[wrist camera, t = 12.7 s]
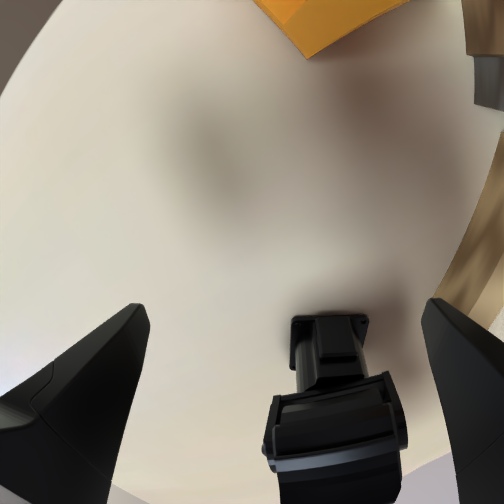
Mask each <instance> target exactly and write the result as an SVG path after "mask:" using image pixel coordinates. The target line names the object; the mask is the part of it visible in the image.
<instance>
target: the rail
mask: <svg viewBox="0 0 504 504" xmlns="http://www.w3.org/2000/svg"><path fill="white" fill-rule="evenodd" d="M438 297H439V298H442V299H443V300H445V301H446V302H448V303H449V304H451V305H452V306H454V307H455V308H456V309H458V310H459V311H461V312H462V313H464V314H465V315H466V316H468V317H469V318H471V319H472V320H474V321H475V322H476V323H478V324H479V325H481V326H482V327H483V328H485V329H486V330H488V329H489V327H490V326H491V324H492V323H493V321H494V320H495V318H496V317H497V315H498V314H499V312H500V311H501V309H502V308H503V306H504V132H501V135H500V139H499V142H498V146H497V149H496V152H495V156H494V159H493V162H492V165H491V168H490V171H489V174H488V177H487V180H486V183H485V186H484V188H483V191H482V194H481V196H480V199H479V202H478V204H477V207H476V209H475V212H474V214H473V217H472V219H471V221H470V224H469V226H468V228H467V231H466V233H465V235H464V237H463V239H462V242H461V244H460V246H459V248H458V250H457V252H456V254H455V256H454V258H453V260H452V262H451V264H450V266H449V268H448V270H447V272H446V274H445V276H444V278H443V280H442V282H441V284H440V285H439V287H438V289H437V291H436V293H435V294H434V296H433V298H438Z"/></svg>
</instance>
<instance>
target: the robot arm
mask: <svg viewBox="0 0 504 504" xmlns="http://www.w3.org/2000/svg"><path fill="white" fill-rule="evenodd" d="M362 320H364V321H362ZM295 323H299V324H295ZM368 324H369V318H368V316H367V315H364V314H362V315H342V316H317V317H295V318H293V319H292V320H291V336H290V361H289V368H290V369H291V370H294V371H296V380H297V393H294V394H288V395H282V396H281V395H275V396H273V401H272V404H271V406H270V411H269V416H268V420H267V425H266V430H265V435H264V439H263V445H262V453H263V454H264V455H265V456H266V457H267V461H268V464H269V467H270V469H271V471H272V472H273V473H277V477H278V482H279V490H280V504H393V503H395V501H396V499H397V497H398V494H399V492H400V490H401V481H402V470H401V460H400V450H403V449H407V447H408V433H407V426H406V420H405V415H404V411H403V408H402V404H401V402H400V399H399V396H398V394H397V391H396V388H395V386H394V383H393V380H392V378H391V375H390V373H389V371H385V372H382V374H379V375H375V376H371V377H369V375H368V370H367V366H366V362H365V358H364V354H363V350H362V348H363V344H364V340H365V336H366V332H367V328H368ZM421 325H422V329H423V334H424V338H425V343H426V348H427V353H428V358H429V362H430V366H431V370H432V373H433V377H434V380H435V383H436V387H437V391H438V394H439V398H440V402H441V406H442V410H443V414H444V418H445V422H446V426H447V431H448V435H449V440H450V445H451V450H452V455H453V461H454V466H455V472H456V480H457V487H458V494H459V502H460V504H504V342H502V341H501V340H500V339H498V338H497V337H496V336H494V335H493V334H492V333H490V332H489V331H487V330H486V329H485V328H483V327H482V326H481V325H479V324H478V323H476V322H475V321H474V320H472V319H471V318H469V317H468V316H466V315H465V314H464V313H462V312H461V311H459V310H458V309H456V308H455V307H454V306H452V305H451V304H449V303H448V302H446V301H445V300H443V299H442V298H439V297H438V298H430V299H429V300H428V301H427V303H426V306H425V309H424V312H423V315H422V319H421ZM149 333H150V322H149V319H148V316H147V313H146V310H145V307H144V305H143V304H140V303H131V304H129V305H127V306H126V307H125V308H123V309H122V310H121V311H119V312H118V313H116V314H115V315H114V316H112V317H111V318H110V319H108V320H107V321H105V322H104V323H103V324H101V325H100V326H99V327H97V328H96V329H95V330H93V331H92V332H91V333H89V334H88V335H86V336H85V337H84V338H82V339H81V340H80V341H78V342H77V343H76V344H74V345H73V346H72V347H70V348H69V349H68V350H66V351H65V352H64V353H62V354H61V355H60V356H58V357H57V358H56V359H54V361H52V362H50V363H49V364H48V365H46V366H45V367H44V368H42V369H41V370H40V371H38V372H37V373H36V374H34V375H33V376H31V377H30V378H28V379H27V380H25V381H24V382H22V383H21V384H19V385H18V386H16V387H15V388H13V389H11V390H10V391H8V392H7V393H5V394H4V395H2V396H1V397H0V504H107V500H108V495H109V491H110V487H111V482H112V481H111V480H112V477H113V473H114V469H115V465H116V461H117V457H118V453H119V449H120V445H121V441H122V438H123V434H124V430H125V426H126V423H127V419H128V416H129V412H130V409H131V405H132V402H133V398H134V395H135V392H136V388H137V385H138V382H139V378H140V375H141V371H142V368H143V363H144V358H145V352H146V347H147V342H148V337H149Z"/></svg>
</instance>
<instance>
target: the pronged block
mask: <svg viewBox="0 0 504 504" xmlns="http://www.w3.org/2000/svg"><path fill="white" fill-rule="evenodd" d="M462 7H463V15H464V24H465V35H466V51H467V55H470V56H473V57H474V63H475V100H474V104H476V105H480V106H484V107H488V108H492V109H496V110H500V111H504V0H462Z"/></svg>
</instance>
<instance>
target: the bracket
mask: <svg viewBox="0 0 504 504" xmlns="http://www.w3.org/2000/svg"><path fill="white" fill-rule="evenodd" d="M253 1H254V2H255V3H256V4H257V5H258V6H259V7H260V8H261V9H262V10H263V11H264V12H265V13H266V14H267V15H268V16H269V17H270V18H271V19H272V20H273V22H274V23H275V24H276V25H277V26H278V27H279V28H280V29H281V30H282V31H283V32H284V33H285V35H286V36H287V37H288V38H289V39H290V40H291V41H292V42H293V44H294V45H295V46H296V47H297V48H298V49H299V50H300V52H301V53H302V54H303V55H304V56H305V58H306V59H309V58H310V57H312V56H313V55H315V54H316V53H318V52H319V51H321V50H322V49H324V48H326V47H327V46H329V45H330V44H332V43H334V42H335V41H337V40H338V39H340V38H342V37H344V36H345V35H347V34H349V33H350V32H352V31H354V30H356V29H357V28H359V27H361V26H363V25H364V24H366V23H368V22H370V21H372V20H373V19H375V18H377V17H379V16H381V15H383V14H385V13H386V12H388V11H390V10H392V9H394V8H396V7H398V6H400V5H402V4H404V3H406V2H408V1H410V0H253Z"/></svg>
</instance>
